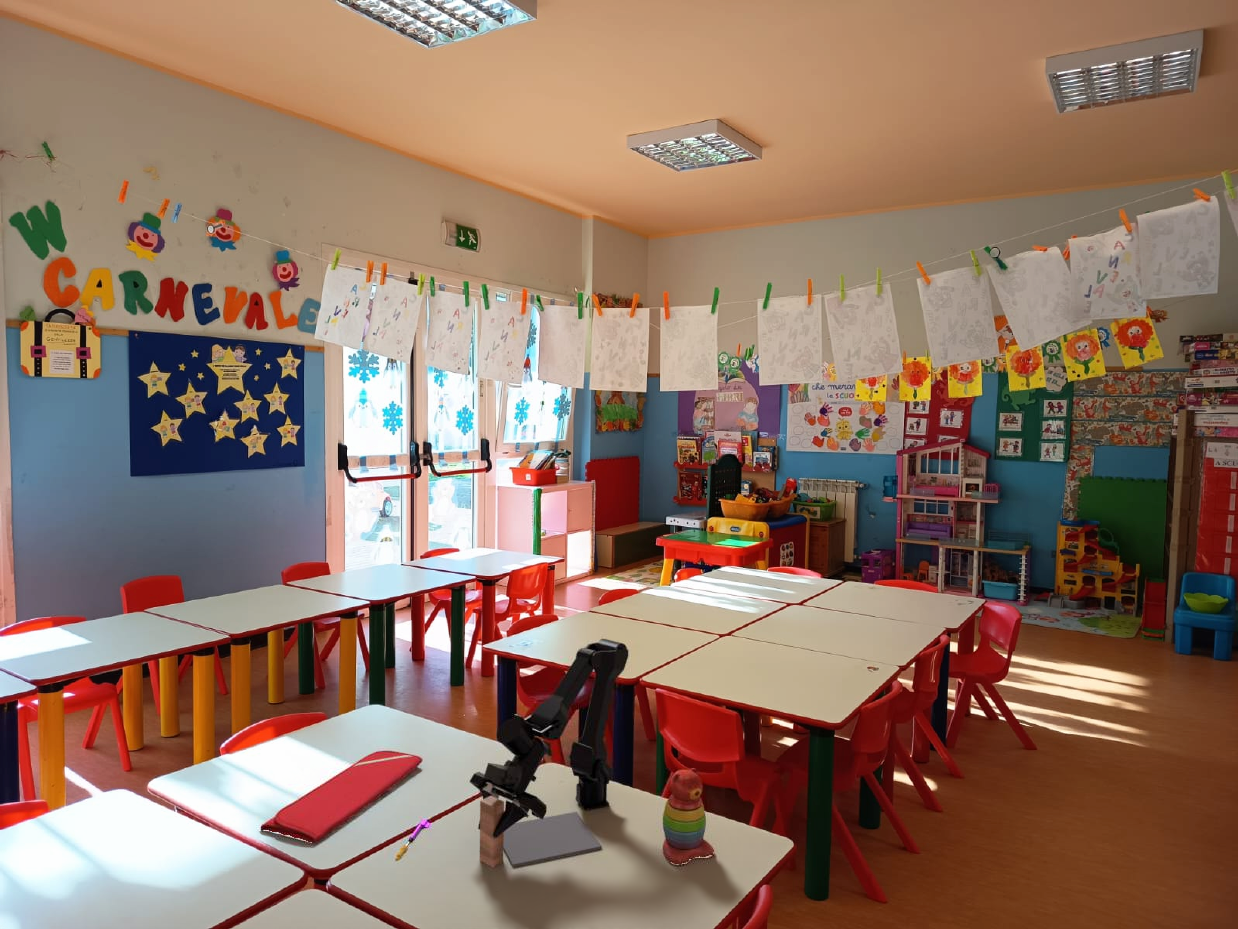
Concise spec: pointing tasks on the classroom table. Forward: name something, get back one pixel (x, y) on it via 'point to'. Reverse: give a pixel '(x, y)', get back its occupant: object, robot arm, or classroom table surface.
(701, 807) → the stacking bear
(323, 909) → the classroom table surface
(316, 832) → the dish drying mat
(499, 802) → the terracotta block
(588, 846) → the charcoal mat
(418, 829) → the pink dart
